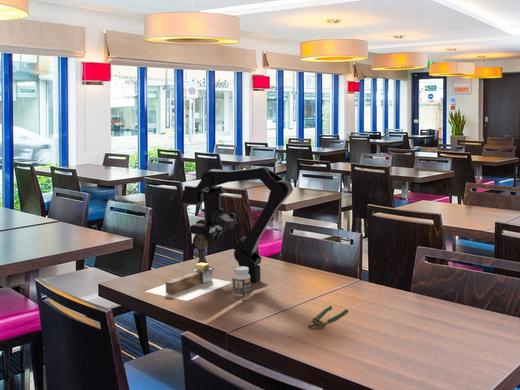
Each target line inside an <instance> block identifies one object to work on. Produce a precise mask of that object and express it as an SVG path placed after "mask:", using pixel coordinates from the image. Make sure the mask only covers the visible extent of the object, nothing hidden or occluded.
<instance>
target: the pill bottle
mask: <svg viewBox="0 0 520 390" xmlns="http://www.w3.org/2000/svg"><path fill="white" fill-rule="evenodd" d="M233 272H234V274H233V275H232V297H233V298H238V301H247V300H250V298H251V297H252V296H251V295H252V294H251V293H252V291H251V290H252V289H251V287H252V286H251V284H252V283H251V277H250V275H249V274H248V272H249V268H248V267H245V266H239V265H237V266H235V267H234V268H233Z"/></svg>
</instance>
